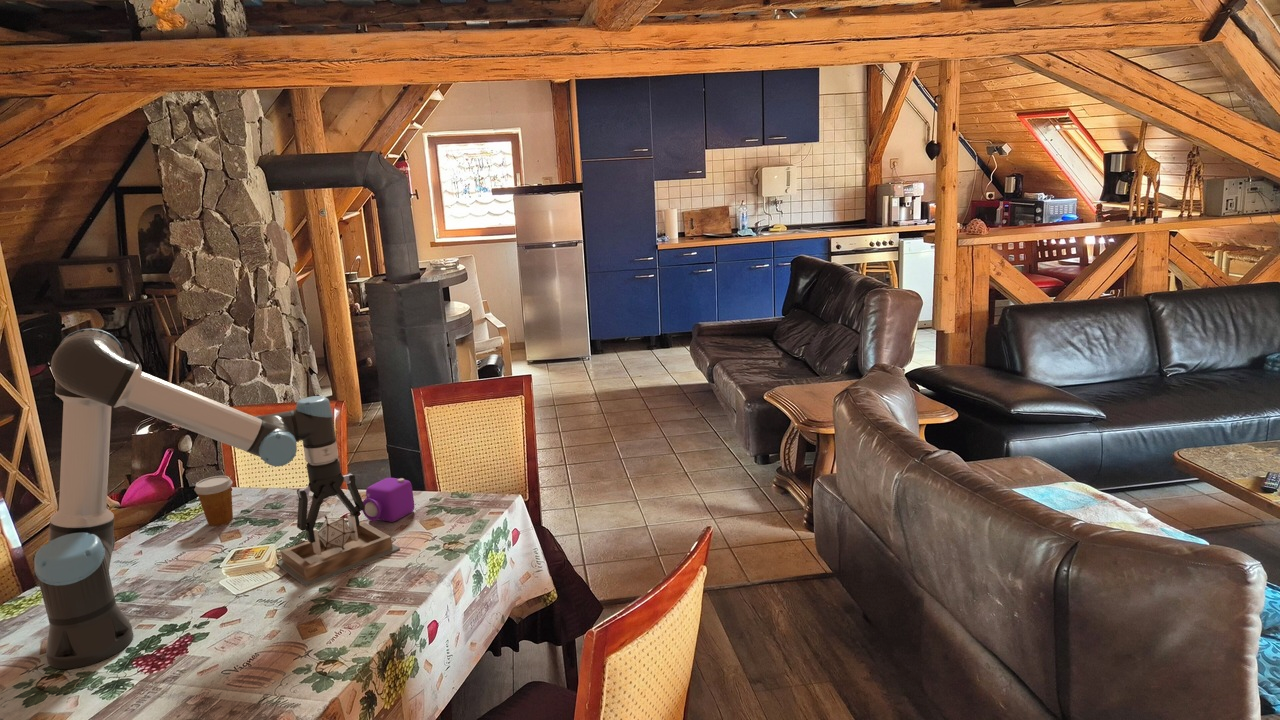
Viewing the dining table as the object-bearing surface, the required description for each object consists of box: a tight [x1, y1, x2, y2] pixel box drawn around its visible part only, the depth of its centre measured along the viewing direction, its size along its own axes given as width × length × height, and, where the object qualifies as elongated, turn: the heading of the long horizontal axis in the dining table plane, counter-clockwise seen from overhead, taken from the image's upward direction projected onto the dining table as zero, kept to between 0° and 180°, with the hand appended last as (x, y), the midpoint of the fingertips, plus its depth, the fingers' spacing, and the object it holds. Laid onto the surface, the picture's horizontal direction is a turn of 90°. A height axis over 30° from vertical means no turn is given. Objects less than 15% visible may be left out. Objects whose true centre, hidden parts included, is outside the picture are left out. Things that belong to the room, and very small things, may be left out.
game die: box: [318, 515, 355, 550], centre depth 208 cm, size 9×8×10 cm
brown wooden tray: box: [280, 521, 393, 581], centre depth 209 cm, size 22×15×4 cm
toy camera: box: [361, 477, 415, 523], centre depth 230 cm, size 11×14×10 cm
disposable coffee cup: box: [194, 475, 234, 527], centre depth 235 cm, size 10×10×12 cm
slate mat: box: [277, 543, 401, 587], centre depth 209 cm, size 24×18×1 cm
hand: (336, 546), depth 209 cm, fingers closed on game die, 9 cm apart
